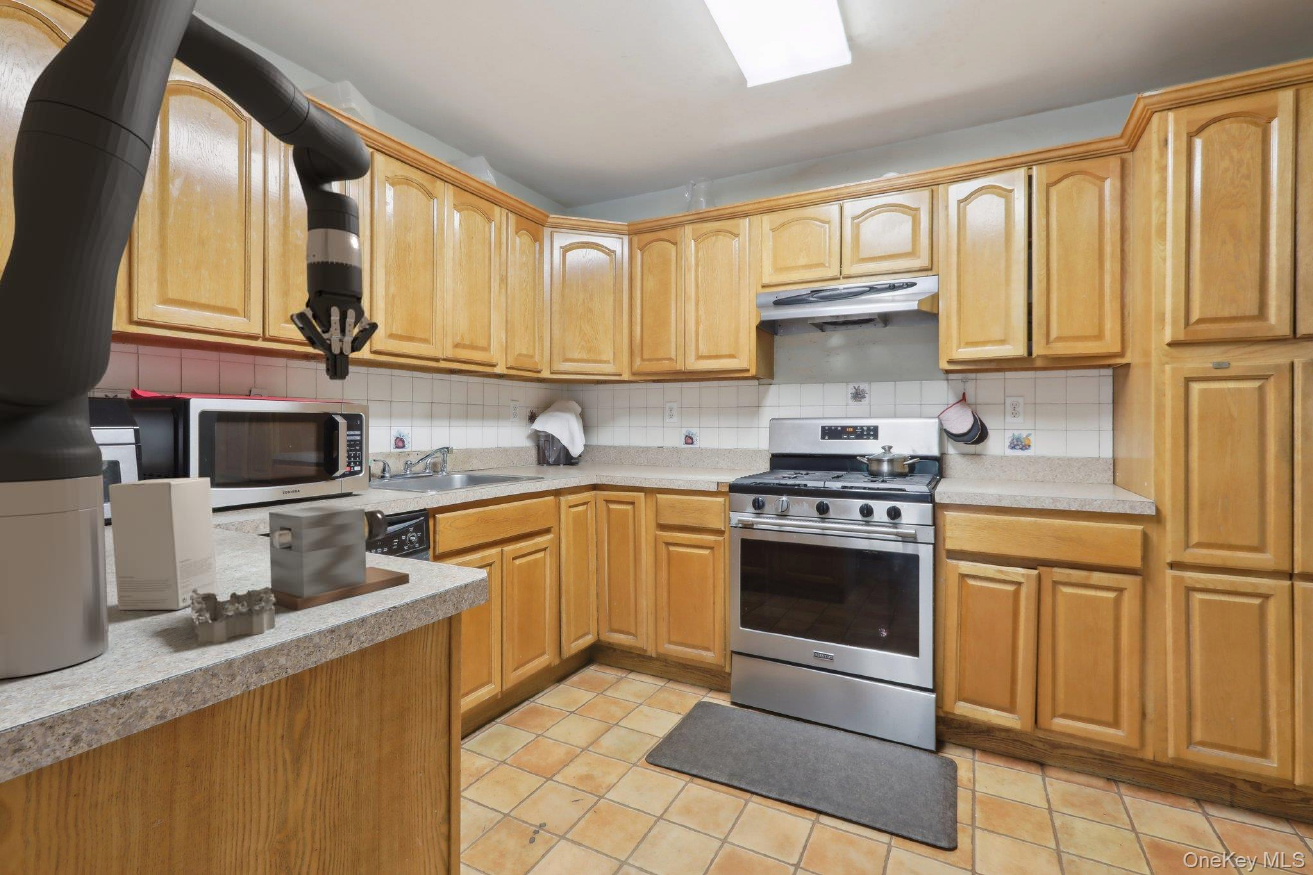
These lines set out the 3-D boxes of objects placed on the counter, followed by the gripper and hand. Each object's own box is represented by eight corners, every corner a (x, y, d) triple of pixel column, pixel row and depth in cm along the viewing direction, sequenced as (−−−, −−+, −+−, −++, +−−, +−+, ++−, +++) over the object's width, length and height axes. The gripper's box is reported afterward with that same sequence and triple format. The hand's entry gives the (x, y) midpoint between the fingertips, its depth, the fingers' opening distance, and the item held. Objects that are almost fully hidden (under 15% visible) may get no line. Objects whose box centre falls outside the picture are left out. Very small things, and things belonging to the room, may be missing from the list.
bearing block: (297, 610, 74) (295, 518, 73) (261, 599, 79) (258, 513, 78) (409, 582, 86) (407, 503, 86) (371, 574, 91) (369, 499, 91)
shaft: (286, 559, 75) (285, 523, 75) (268, 555, 77) (267, 520, 77) (389, 541, 86) (388, 509, 86) (370, 538, 89) (369, 507, 88)
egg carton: (190, 624, 70) (189, 588, 70) (268, 611, 75) (267, 577, 75) (191, 649, 62) (190, 608, 62) (279, 633, 66) (278, 595, 66)
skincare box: (219, 597, 80) (215, 476, 80) (175, 612, 74) (170, 481, 73) (160, 596, 81) (156, 477, 81) (111, 611, 75) (106, 482, 74)
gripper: (303, 251, 87) (306, 376, 87) (389, 270, 98) (391, 380, 98) (276, 260, 91) (279, 378, 91) (361, 277, 102) (364, 383, 102)
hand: (337, 379), depth 95 cm, fingers closed
